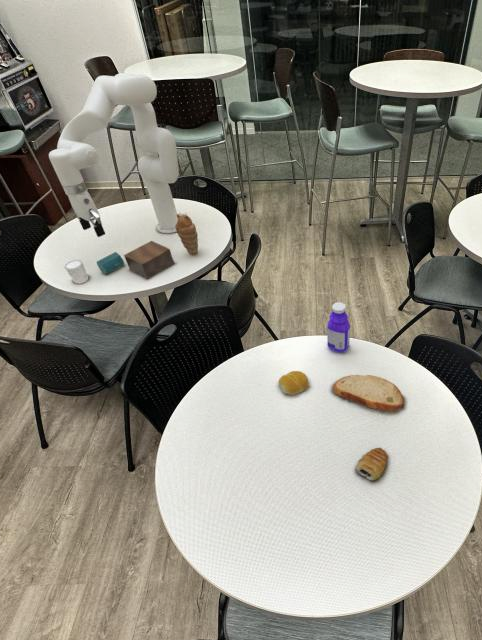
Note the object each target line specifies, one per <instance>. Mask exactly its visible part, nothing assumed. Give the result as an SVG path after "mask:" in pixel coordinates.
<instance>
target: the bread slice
mask: <svg viewBox="0 0 482 640" xmlns="http://www.w3.org/2000/svg"><path fill="white" fill-rule="evenodd" d="M332 392H333V393H334V394H335V395H338V396H339V397H341V398H343V399H345V400H348V401H351V402H353V403H356V404H358V405H361V406H364V407H367V408H370V409H373V410H381V411H386V412H395V411H398V410H400V409H403V408H404V407H405V399H404V395H403V393H402V392H401V391H400V389H399V387H398V386H397V385H396V384H395V383H393V382H391V381H389V380H388V379H385V378H384V377H383V378H382V377H381V376H376V375H372V374H366V375H360V374H354V375H353V374H352V375H347V376H343V377H341V378H339V379H337V380H336V381H335V382H334V384H333V386H332Z"/></svg>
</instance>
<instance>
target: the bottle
mask: <svg viewBox="0 0 482 640" xmlns="http://www.w3.org/2000/svg"><path fill="white" fill-rule="evenodd" d="M331 307H332V308H331V310H332V311H331V313H330V314H329V320H328V322H327V325H326V326H327V327H326V328H327V329H326V331H327V347H328V349H329V350H330V351H333V352H335V353H340V354H341V353H342V354H343V353H345V352H347V350H348V348H349V347H350V339H351V337H350V336H351V323H350V321H349V316H348V314H347V312H346V310H347V306H346V304H345V303H343V302H335V303H333V304H332V306H331Z"/></svg>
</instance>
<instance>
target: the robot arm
mask: <svg viewBox="0 0 482 640" xmlns="http://www.w3.org/2000/svg"><path fill="white" fill-rule="evenodd" d="M157 89H158V88H157V85H156V83H155V81H154V80H153V79H152V78H151V77H150V76H148V75H145V74H135V73H127V72H126V73H125V72H121V73H120V72H119V73H117V74H115V75H99V76H97V77H96V78H95V80H94V82H93V84H92V87H91V89H90V91H89V93H88V96H87V98H86V101H85V103H84V106H83V108H82V110H81V111H80V112H79V113H77V114H76V115H75V116H74V117H73V118H72V119H71V120H70V121H68V123H66V125H64V128H63V129H62V131H61V134H60V136H59V138H58V141H57V146H56V148H55V149H53V150H51V151H50V152H49V153H48V159H49V161H50V163H51V165H52V167H53V170H54V172H55V174H56V176H57V178H58V180H59V182H60V185H61V187H62V189H63V191H64V193H65V195H66V196H67V197H68V201H69V203H70V205H71V208H72V209H73V211H74V214H75V215H76V217H77V219H78V221H79V224H80V225H81V228H82V230H83V231H87V230H88V229H91V228H92V226H93V230H94V232H95V235H96V237H97V238H100V237H103V236H105V235H106V232H105V228H104V227H103V223H102V219H101V215H100V211H99V210H98V207H97V206H96V203H95V201H94V199H93V198H92V196H91V195H90V193H89V191H88V187H87V185H86V182H85V181H84V178H83V176H82V173H81V170H84V169H88V168H92V167H93V166H95V165H96V164H97V163H98V161H99V154H98V151H97V150H96V148H94V147H93V146H92V145H91V144H88V143H85V142H83V141H85V139H86V138H87V137H89V136H91V135H93V134H95V133H98V132H101V131H103V130H105V129H106V128H108V126H109V123H110V121H111V118H112V117H113V114H114V111H115V109H116V107H117V106H125V107H129V108H130V110H131V113H132V116H133V121H134V127H135V134H136V139H137V144H138V147H139V148H140V150H142V151H144V152H147V153H151V154H156V155H157V154H158V156H156V155H150V154H147V155H142V156H141V157H140V158H139V159H138V161H137V170H138V173H139V175H140V177H141V179H142V180H143V182H144V184H145V187H146V189H147V191H148V195H149V198H150V201H151V205H152V207H153V210H154V213H155V217H156V219H157V222H158V223H157V224H156V230H157V232H159V233H161V234H173V233H177V230H176V228H175V226H176V224H177V221H178V218H177V214H179V215H180V216H182V215H187V216H188V214H187V212H183V213H181V212H178V211H177V208H176V204H175V201H174V198H173V194H172V190H171V187H170V185H169V184H174V183H176V182H177V181H178V179H179V174H180V173H179V171H180V170H179V161H178V160H179V159H178V151H177V142H176V139H175V137H174V135H173V133H172V132H171V131H170V130H169V129H167V128H164V127H158V122H157V117H156V112H155V109H154V106H153V105H152V102H154V101H155V99H156V98H157V94H158V90H157Z"/></svg>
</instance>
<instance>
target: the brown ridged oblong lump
mask: <svg viewBox="0 0 482 640" xmlns="http://www.w3.org/2000/svg"><path fill="white" fill-rule="evenodd" d="M177 218H178V221H177V224H176V226H175V228H176V230H177V232H176V233H177V236H178V237H179V239H180V242H181V244H182V245H183V247H184V248H185V250H186V251H187V253H188V254H190V255H192V256H193V255H197V254H198V252H199V239H198V232H197V227H196V225H195V223H193V220H192V218H191V217H190V216H189V215H188V214H187V215H182V216H180V215H179V214H178V213H177Z"/></svg>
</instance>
